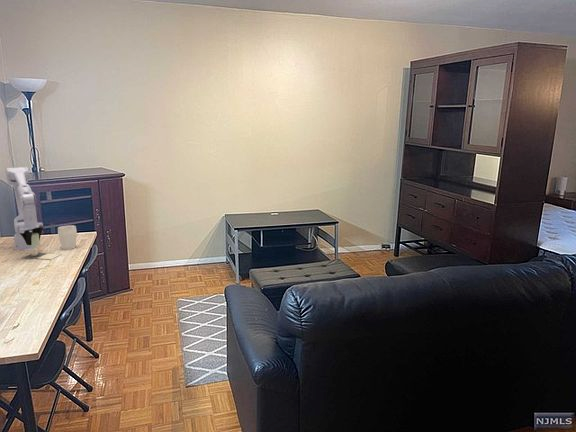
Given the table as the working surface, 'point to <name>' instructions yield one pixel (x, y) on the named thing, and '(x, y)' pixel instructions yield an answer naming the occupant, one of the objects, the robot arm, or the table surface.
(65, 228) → the cup
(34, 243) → the sage cup
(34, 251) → the marble
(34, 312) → the table surface
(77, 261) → the table surface
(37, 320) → the table surface
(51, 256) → the mat
